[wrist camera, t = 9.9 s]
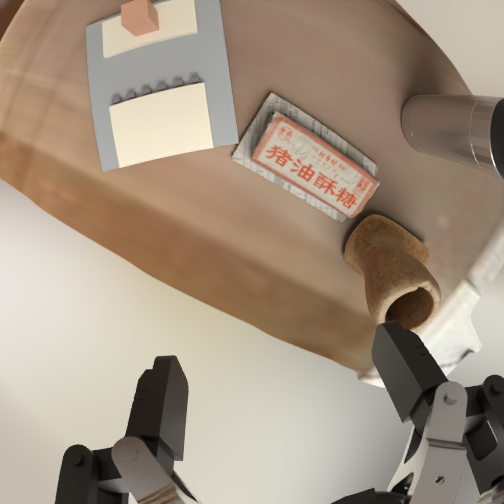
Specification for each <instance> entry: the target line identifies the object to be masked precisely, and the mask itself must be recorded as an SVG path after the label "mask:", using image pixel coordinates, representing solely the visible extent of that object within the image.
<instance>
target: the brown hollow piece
mask: <svg viewBox="0 0 504 504" xmlns="http://www.w3.org/2000/svg"><path fill="white" fill-rule="evenodd" d="M429 254H430V251H429V249H428V248H427V247H426V246H425V245H424V244H423V243H422V242H421V241H420V240H418V239H417V238H416V237H414V236H413V235H411V234H410V233H409V232H408V231H406V230H405V229H404V228H402V227H401V226H399V225H398V224H396V223H395V222H393V221H391V220H390V219H388V218H386V217H384V216H381V215H377V214H372V215H369V216H367V217H366V218H364V219H363V220H362V221H361V222H360V223H359V224H358V225H357V226H356V228H355V229H354V231H353V232H352V234H351V235H350V237H349V239H348V240H347V243H346V246H345V253H344V255H343V258H344V260H345V262H346V263H347V264H348V265H349V266H350V267H351V268H352V269H353V270H354V271H356V272H357V273H358V274H359V275H361V276H363V277H365V292H366V299H367V305H368V309H369V312H370V315H371V316H372V318H373V320H374V322H375V324H376V325H377V326H378V324H381V323H385V322H388V321H392V320H397V321H398V322H399V324H400V325H401V326H402V328H403V329H404V330H406V329H409V330H411V331H412V332H414V331H417V330H419V329H421V328H423V327H424V326H425V325H427V324H428V323H429V322H430V321H431V320H432V319H433V318H434V316H435V315H436V313H437V311H438V309H439V307H440V301H441V291H440V288H439V285H438V283H437V282H436V280H435V279H434V278H433V276H432V275H431V274H430V272H429V271H428V270H427V268H426V267H425V266H424V265H425V264H426V262H427V260H428V258H429Z"/></svg>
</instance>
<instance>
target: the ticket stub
mask: <svg viewBox="0 0 504 504" xmlns="http://www.w3.org/2000/svg"><path fill="white" fill-rule="evenodd" d="M197 33H198V26H197V17H196V8H195V0H170V1H166V2H162V3H158V4H154V5H153V4H152V3H151V1H150V0H134V1H131V2H128V3H126V4H123V5H121V15H120V16H117V17H115V18H112V19H109V20H107V21H104V22H102V37H103V56H104V58H106V59H107V58H110V57H112V56H115V55H118V54H121V53H124V52H127V51H130V50H133V49H136V48H139V47H142V46H146V45H149V44H153V43H157V42H160V41H164V40H168V39H173V38H177V37H181V36H186V35H191V34H197Z"/></svg>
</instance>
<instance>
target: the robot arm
mask: <svg viewBox="0 0 504 504" xmlns="http://www.w3.org/2000/svg"><path fill="white" fill-rule="evenodd" d="M401 123H402V129H403V132H404V135H405V137H406V139H407V141H408V142H409V144H410V145H411V146H412V147H413V148H414V149H416V150H417V151H420V152H423V153H426V154H430V155H434V156H437V157H440V158H444V159H447V160H450V161H453V162H456V163H460V164H463V165H466V166H469V167H471V168H474V169H477V170H480V171H483V172H485V173H488V174H491V175H494V176H496V177H499V178H501V179H503V180H504V98H501V97H490V96H475V95H436V94H431V95H415V96H413V97H411V98H410V99H409V100H408V101H407V102H406V103H405V105H404V107H403V110H402V115H401ZM372 359H373V362H374V364H375V366H376V368H377V370H378V372H379V374H380V376H381V378H382V380H383V382H384V385H385V387H386V388H387V391H388V393H389V395H390V397H391V399H392V401H393V403H394V405H395V408H396V410H397V412H398V414H399V416H400V418H401V421H402V423H405V422H407V421H410V420H412V422H413V424H414V425H413V427H412V430H411V433H410V437H409V440H408V443H407V446H406V449H405V452H404V455H403V458H402V461H401V464H400V466H399V468H398V470H397V471H396V473H395V475H394V476H393V478H392V480H391V482H390V485H389V487H388V489H387V491H377V492H375V489H374V488H372V489H368V490H366V491H362V492H360V493H356V494H353V495H349V496H346V497H343V498H341V499H340V500H338V501H335V502H333V503H331V504H454V501H455V497H456V494H457V490H458V487H459V483H460V480H461V476H462V472H463V468H464V463H465V458H466V456H467V459H468V461H469V464H470V467H471V469H472V472H473V475H474V478H475V481H476V484H477V487H478V489H479V493H480V498H479V500H478V503H477V504H504V378H503V377H501V376H499V375H491V376H489V377H487V378H486V379H485V381H484V383H483V384H482V385H478V386H472V387H465V388H464V387H463V386H462V385H460V384H459V383H457V382H453V381H449V380H448V379H447V378H446V376H445V375H444V373H443V372H442V370H441V369H440V367H439V366H438V364H437V363H436V361H435V360H434V358H433V357H432V355H431V354H429V351H428V349H427V348H426V346H424V343H423V342H422V341H421V339H420V338H419V336H418V335H416V334H415V333H414V332H412V331H411V330H409V329H406V330H404V329H403V328H402V326H401V325H400V324H399V322H398V321H397V320H392V321H388V322H385V323H381V324H378V326H377V329H376V334H375V338H374V343H373V347H372ZM187 402H188V382H187V379H186V376H185V375H184V372H183V370H182V368H181V366H180V363H179V361H178V359H177V357H176V356H173V355H172V356H157V357H156V358H155V361H154V365H153V369H147V370H145V371H144V373H143V374H142V376H141V377H140V378H139V380H138V384H137V388H136V393H135V396H134V401H133V404H132V408H131V413H130V417H129V421H128V426H127V430H126V434H125V436H124V438H122V439H120V440H118V441H117V442H116V443H115V444H114V446H113V447H111V448H106V449H100V450H93V451H91V450H89V449H88V448H87V447H85V446H83V445H79V444H77V445H73V446H71V447H69V448H68V449H67V450H66V452H65V453H64V456H63V460H62V465H61V470H60V475H59V481H58V487H57V493H56V500H55V504H128V497H129V492H131V493H132V495H133V496H134V498H135V499H136V501H137V503H138V504H202V503H201V502H200V501H199V500H198V499H197V498H196V496H195V495H194V494H193V493H192V492H191V491H190V489H189V488H188V487H187V486H186V485H185V484H184V482H183V481H182V480H181V478H180V477H179V476H178V475H177V473H176V472H175V471H174V470H173V466H174V461H175V460H176V461H183V451H184V438H185V425H186V413H187ZM487 421H489V423H490V425H491V427H492V429H493V431H494V433H495V435H496V438H497V441H498V444H497V442H496V439H495V437H494V435H493V433H492V431H491V429H490V427H489V425H488V422H487Z"/></svg>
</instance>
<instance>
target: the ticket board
mask: <svg viewBox="0 0 504 504" xmlns="http://www.w3.org/2000/svg"><path fill="white" fill-rule="evenodd" d="M166 1H170V0H160V1H156V2H153V3H152V4H153V5H154V4H158V3H162V2H166ZM195 8H196V17H197V26H198V33H197V34H191V35H186V36H181V37H177V38H173V39H168V40H164V41H160V42H157V43H153V44H149V45H146V46H142V47H139V48H136V49H133V50H130V51H127V52H124V53H121V54H118V55H115V56H112V57H110V58H107V59H106V58H104V56H103V37H102V22H104V21H107V20H109V19H112V18H115V17H117V16H120V15H121V13H119V14H116V15H113V16H111V17H108V18H106V19H103V20H101V21H98V22H96V23H94V24H91V25H89V26H87V27H86V47H87V66H88V79H89V90H90V99H91V107H92V114H93V121H94V127H95V133H96V139H97V145H98V150H99V155H100V160H101V165H102V170H103V172H105V171H108V170H112V169H115V168H119V167H120V168H121V167H125V166H129V165H133V164H137V163H141V162H145V161H149V160H153V159H158V158H162V157H167V156H172V155H176V154H181V153H187V152H192V151H197V150H203V149H209V148H214V147H218V146H224V145H231V144H238V143H239V140H238V133H237V125H236V118H235V111H234V103H233V96H232V89H231V81H230V74H229V67H228V59H227V52H226V45H225V37H224V30H223V23H222V16H221V9H220V1H219V0H195Z"/></svg>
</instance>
